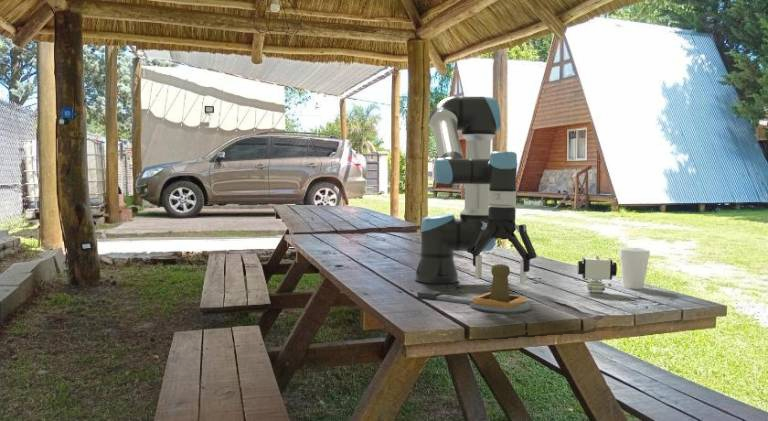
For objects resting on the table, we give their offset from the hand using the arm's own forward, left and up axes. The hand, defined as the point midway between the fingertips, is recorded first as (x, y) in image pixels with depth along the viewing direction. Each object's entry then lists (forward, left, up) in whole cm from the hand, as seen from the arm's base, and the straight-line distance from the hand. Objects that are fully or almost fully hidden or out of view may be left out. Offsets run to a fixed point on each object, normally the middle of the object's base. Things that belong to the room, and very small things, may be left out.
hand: (500, 280), depth 179 cm
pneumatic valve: (+16, +41, -8) cm, 45 cm away
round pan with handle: (-9, 0, -8) cm, 11 cm away
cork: (0, 0, -7) cm, 7 cm away
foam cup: (+24, +58, -8) cm, 63 cm away
